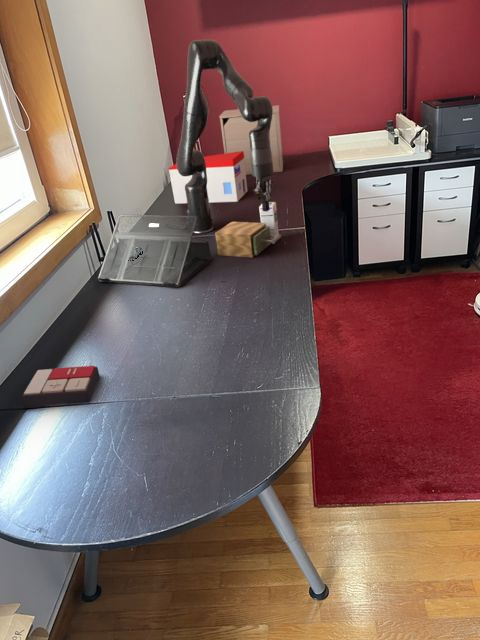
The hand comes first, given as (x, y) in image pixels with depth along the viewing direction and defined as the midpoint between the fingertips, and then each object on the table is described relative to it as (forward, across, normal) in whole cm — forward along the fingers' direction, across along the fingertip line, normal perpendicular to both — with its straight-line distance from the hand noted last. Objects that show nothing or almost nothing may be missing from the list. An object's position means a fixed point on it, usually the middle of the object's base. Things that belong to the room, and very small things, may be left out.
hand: (266, 210), depth 184 cm
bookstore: (+16, -71, -66) cm, 98 cm away
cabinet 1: (+15, -138, -72) cm, 157 cm away
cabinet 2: (+16, 0, -12) cm, 19 cm away
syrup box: (+16, -13, -5) cm, 21 cm away
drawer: (+15, 0, -6) cm, 16 cm away
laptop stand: (+16, +26, -34) cm, 46 cm away
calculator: (+16, +98, -10) cm, 100 cm away
